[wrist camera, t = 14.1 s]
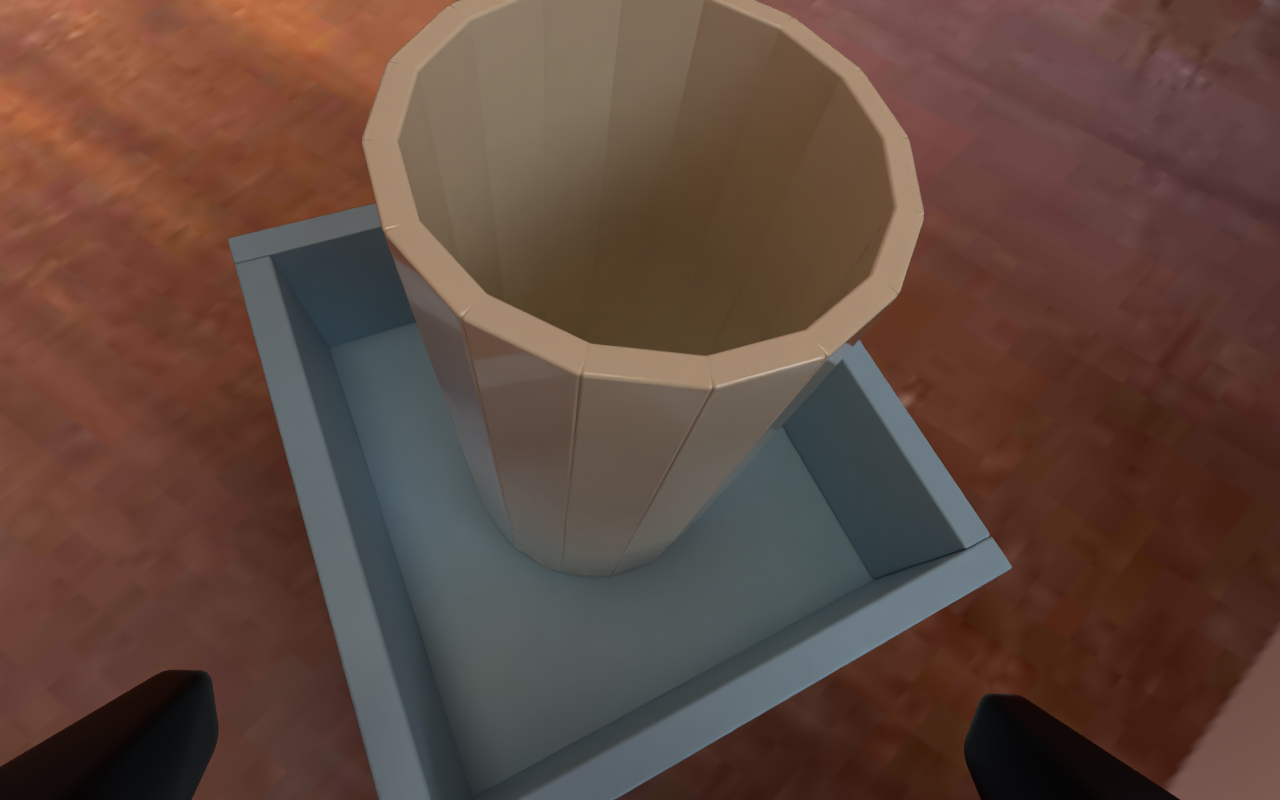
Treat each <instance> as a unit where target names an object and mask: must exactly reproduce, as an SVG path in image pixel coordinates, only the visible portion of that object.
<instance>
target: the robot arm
mask: <svg viewBox="0 0 1280 800" xmlns="http://www.w3.org/2000/svg"><path fill="white" fill-rule="evenodd" d="M217 739H218V720H217V713H216V706H215V699H214V692H213V685H212V681H211V677H210V676H209V675H208V673H206V672H204V671H199V670H167V671H163V672H161V673H159V674H157V675H155V676H153V677H151V678H150V679H148V680H146V681H145V682H143V683H141V684H139V685H138V686H136V687H134V688H133V689H131V690H129V691H128V692H126V693H124V694H123V695H121V696H119V697H117V698H116V699H114V700H112V701H111V702H109V703H107V704H106V705H104V706H102V707H101V708H99V709H97V710H96V711H94V712H92V713H90V714H89V715H87V716H85V717H84V718H82V719H80V720H79V721H77V722H75V723H74V724H72V725H70V726H68V727H67V728H65V729H63V730H62V731H60V732H58V733H57V734H55V735H53V736H52V737H50V738H48V739H46V740H45V741H43V742H41V743H40V744H38V745H36V746H35V747H33V748H31V749H30V750H28V751H26V752H24V753H23V754H21V755H19V756H18V757H16V758H14V759H13V760H11V761H9V762H8V763H6V764H4V765H3V766H1V767H0V800H191V799H192V797H193V795H194V793H195V791H196V789H197V787H198V784H199V782H200V780H201V778H202V776H203V774H204V772H205V769H206V767H207V765H208V763H209V761H210V759H211V757H212V754H213V752H214V749H215V746H216V743H217ZM964 753H965V759H966V763H967V766H968V769H969V771H970V774H971V776H972V779H973V781H974V784H975V786H976V789H977V791H978V793H979V796H980V798H981V800H1180V799H1178V798H1176V797H1175V796H1174V795H1172V794H1171V793H1169V792H1168V791H1166V790H1164V789H1163V788H1161V787H1160V786H1158V785H1157V784H1155V783H1154V782H1152V781H1151V780H1149V779H1148V778H1146V777H1145V776H1143V775H1142V774H1140V773H1138V772H1137V771H1135V770H1134V769H1132V768H1131V767H1129V766H1128V765H1126V764H1125V763H1123V762H1122V761H1120V760H1119V759H1117V758H1116V757H1114V756H1112V755H1111V754H1109V753H1108V752H1106V751H1105V750H1103V749H1102V748H1100V747H1099V746H1097V745H1096V744H1094V743H1093V742H1091V741H1090V740H1088V739H1087V738H1085V737H1083V736H1082V735H1080V734H1079V733H1077V732H1076V731H1074V730H1073V729H1071V728H1070V727H1068V726H1067V725H1065V724H1064V723H1062V722H1061V721H1059V720H1057V719H1056V718H1054V717H1053V716H1051V715H1050V714H1048V713H1047V712H1045V711H1044V710H1042V709H1041V708H1039V707H1038V706H1036V705H1035V704H1033V703H1031V702H1030V701H1028V700H1027V699H1025V698H1023V697H1021V696H1019V695H1014V694H987V695H985V696H984V697H983V698H982V699H981V700H980V702H979V705H978V707H977V710H976V713H975V715H974V718H973V721H972V724H971V726H970V729H969V732H968V734H967V737H966V740H965V745H964Z"/></svg>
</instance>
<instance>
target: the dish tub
mask: <svg viewBox="0 0 1280 800" xmlns="http://www.w3.org/2000/svg"><path fill="white" fill-rule="evenodd" d="M228 243H229V246H230V250H231V254H232V257H233V261H234V264H235V265H236V271H237V275H238V279H239V282H240V286H241V290H242V293H243V297H244V301H245V305H246V308H247V312H248V316H249V319H250V323H251V327H252V331H253V334H254V338H255V342H256V345H257V349H258V353H259V357H260V360H261V364H262V368H263V371H264V375H265V379H266V383H267V386H268V390H269V394H270V397H271V401H272V405H273V409H274V412H275V416H276V420H277V423H278V427H279V431H280V435H281V438H282V442H283V446H284V449H285V453H286V457H287V461H288V464H289V468H290V472H291V475H292V479H293V483H294V487H295V490H296V494H297V498H298V501H299V505H300V509H301V513H302V516H303V520H304V524H305V527H306V531H307V535H308V539H309V542H310V546H311V550H312V553H313V557H314V561H315V565H316V568H317V572H318V576H319V579H320V583H321V587H322V591H323V594H324V598H325V602H326V605H327V609H328V613H329V617H330V620H331V624H332V628H333V631H334V635H335V639H336V643H337V646H338V650H339V654H340V657H341V661H342V665H343V669H344V672H345V676H346V680H347V683H348V687H349V691H350V695H351V698H352V702H353V706H354V709H355V713H356V717H357V721H358V724H359V728H360V732H361V735H362V739H363V743H364V747H365V750H366V754H367V758H368V761H369V765H370V769H371V773H372V776H373V780H374V784H375V787H376V791H377V795H378V799H379V800H615V799H617V798H618V797H620V796H622V795H624V794H625V793H627V792H629V791H630V790H632V789H634V788H636V787H637V786H639V785H641V784H642V783H644V782H646V781H648V780H649V779H651V778H653V777H655V776H656V775H658V774H660V773H661V772H663V771H665V770H667V769H668V768H670V767H672V766H673V765H675V764H677V763H679V762H680V761H682V760H684V759H685V758H687V757H689V756H691V755H692V754H694V753H696V752H697V751H699V750H701V749H703V748H704V747H706V746H708V745H709V744H711V743H713V742H715V741H716V740H718V739H720V738H721V737H723V736H725V735H727V734H728V733H730V732H732V731H733V730H735V729H737V728H739V727H740V726H742V725H744V724H745V723H747V722H749V721H751V720H752V719H754V718H756V717H757V716H759V715H761V714H763V713H764V712H766V711H768V710H769V709H771V708H773V707H775V706H776V705H778V704H780V703H781V702H783V701H785V700H787V699H788V698H790V697H792V696H793V695H795V694H797V693H799V692H800V691H802V690H804V689H806V688H807V687H809V686H811V685H812V684H814V683H816V682H818V681H819V680H821V679H823V678H824V677H826V676H828V675H830V674H831V673H833V672H835V671H836V670H838V669H840V668H842V667H843V666H845V665H847V664H848V663H850V662H852V661H854V660H855V659H857V658H859V657H860V656H862V655H864V654H866V653H867V652H869V651H871V650H872V649H874V648H876V647H878V646H879V645H881V644H883V643H884V642H886V641H888V640H890V639H891V638H893V637H895V636H896V635H898V634H900V633H902V632H903V631H905V630H907V629H908V628H910V627H912V626H914V625H915V624H917V623H919V622H920V621H922V620H924V619H926V618H927V617H929V616H931V615H932V614H934V613H936V612H938V611H939V610H941V609H943V608H944V607H946V606H948V605H950V604H951V603H953V602H955V601H957V600H958V599H960V598H962V597H963V596H965V595H967V594H969V593H970V592H972V591H974V590H975V589H977V588H979V587H981V586H982V585H984V584H986V583H987V582H989V581H991V580H993V579H994V578H996V577H998V576H999V575H1001V574H1003V573H1005V572H1006V571H1008V570H1010V569H1011V564H1010V563H1009V561H1008V560H1007V558H1006V557H1005V555H1004V554H1003V552H1002V551H1001V549H1000V548H999V547H998V545H997V544H996V542H995V541H994V539H993V538H992V537H988V536H989V535H990V534H989V532H988V530H987V529H986V527H985V526H984V524H983V523H982V521H981V520H980V518H979V517H978V516H977V514H976V513H975V511H974V510H973V508H972V507H971V505H970V504H969V502H968V501H967V499H966V498H965V496H964V495H963V493H962V492H961V490H960V489H959V487H958V486H957V484H956V483H955V481H954V480H953V478H952V477H951V475H950V474H949V472H948V471H947V470H946V468H945V467H944V465H943V464H942V462H941V461H940V459H939V458H938V456H937V455H936V453H935V452H934V450H933V449H932V447H931V446H930V444H929V443H928V441H927V440H926V438H925V437H924V435H923V434H922V432H921V431H920V429H919V428H918V426H917V425H916V424H915V422H914V421H913V419H912V418H911V416H910V415H909V413H908V412H907V410H906V409H905V407H904V406H903V404H902V403H901V401H900V400H899V398H898V397H897V395H896V394H895V392H894V391H893V389H892V388H891V386H890V385H889V383H888V382H887V380H886V379H885V378H884V376H883V375H882V373H881V372H880V370H879V369H878V367H877V366H876V364H875V363H874V361H873V360H872V358H871V357H870V355H869V354H868V352H867V351H866V349H865V348H864V346H863V345H862V343H861V342H860V340H858V342H857V343H856V344H855V345H854V346H853V347H852V348H851V349H850V351H849V352H848V353H847V354H846V355H845V356H844V357H843V358H842V360H841V361H840V362H839V363H838V364H837V365H836V366H835V367H834V369H833V370H832V371H831V372H830V373H829V374H828V375H827V376H826V378H825V379H824V380H823V381H822V382H821V383H820V384H819V385H818V387H817V388H816V389H815V390H814V391H813V392H812V393H811V394H810V396H809V397H808V398H807V399H806V400H805V401H804V402H803V403H802V404H801V406H800V407H799V408H798V409H797V410H796V411H795V412H794V413H793V415H792V416H791V417H790V418H789V419H788V420H787V421H786V422H785V424H784V425H783V426H782V427H781V428H780V429H779V430H778V431H777V433H776V434H775V435H774V436H773V437H772V438H771V439H770V440H769V442H768V443H767V444H766V445H765V446H764V447H763V448H762V449H761V451H760V452H759V453H758V454H757V455H756V456H755V457H754V458H753V460H752V461H751V462H750V463H749V464H748V465H747V466H746V467H745V469H744V470H743V471H742V472H741V473H740V474H739V475H738V476H737V478H736V479H735V480H734V481H733V482H732V483H731V484H730V485H729V487H728V488H727V489H726V490H725V491H724V492H723V493H722V494H721V495H720V497H719V498H718V499H717V500H716V501H715V502H714V503H713V504H712V506H711V507H710V508H709V509H708V510H707V511H706V512H705V513H704V515H703V516H702V517H701V518H700V519H699V520H698V521H697V522H696V524H695V525H694V526H693V527H692V528H691V529H690V530H689V531H688V532H687V533H686V534H685V535H683V536H682V537H681V538H680V539H679V540H678V541H677V542H676V543H675V544H674V545H673V546H672V547H671V548H670V549H669V550H668V551H666V552H665V553H664V554H663V555H662V556H661V557H660V558H658V559H656V560H653V561H652V562H650V563H648V564H647V565H644V566H642V567H640V568H637V569H635V570H633V571H629V572H625V573H622V574H618V575H612V576H604V577H582V576H575V575H568V574H565V573H561V572H557V571H554V570H551V569H549V568H547V567H544V566H542V565H540V564H538V563H536V562H534V561H533V560H531V559H529V558H528V557H526V556H524V555H523V554H522V553H521V552H519V551H518V550H517V549H516V548H514V547H513V546H512V545H511V544H510V543H509V542H508V541H507V540H506V539H505V538H504V536H503V535H502V534H501V533H500V532H499V530H498V529H497V527H496V526H495V524H494V523H493V522H492V520H491V518H490V517H489V515H488V514H487V513H486V511H485V509H484V507H483V505H482V502H481V499H480V496H479V494H478V491H477V488H476V485H475V483H474V480H473V477H472V474H471V472H470V469H469V466H468V463H467V461H466V458H465V455H464V452H463V450H462V447H461V444H460V442H459V439H458V436H457V433H456V431H455V428H454V425H453V422H452V420H451V417H450V414H449V411H448V409H447V406H446V403H445V400H444V398H443V395H442V392H441V389H440V387H439V384H438V381H437V378H436V376H435V373H434V370H433V368H432V365H431V362H430V359H429V357H428V354H427V351H426V348H425V346H424V343H423V340H422V337H421V335H420V332H419V329H418V326H417V324H416V321H415V318H414V315H413V313H412V310H411V307H410V304H409V302H408V299H407V296H406V294H405V291H404V288H403V285H402V283H401V280H400V277H399V274H398V272H397V269H396V266H395V263H394V261H393V258H392V255H391V252H390V250H389V247H388V244H387V241H386V239H385V236H384V233H383V231H382V227H381V222H380V218H379V214H378V210H377V206H376V203H374V204H370V205H366V206H361V207H357V208H353V209H349V210H345V211H341V212H336V213H332V214H328V215H324V216H320V217H316V218H311V219H307V220H303V221H299V222H295V223H291V224H286V225H282V226H278V227H274V228H270V229H266V230H261V231H257V232H253V233H249V234H245V235H241V236H236V237H232V238H229V239H228Z"/></svg>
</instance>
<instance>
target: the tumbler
mask: <svg viewBox="0 0 1280 800" xmlns="http://www.w3.org/2000/svg"><path fill="white" fill-rule="evenodd" d="M860 70H861V69H860V68H859V67H858V66H857V65H855V64H854V63H853V62H852V61H850V60H849V59H848V58H846V57H845V56H844V55H842V54H841V53H840V52H839V51H837V50H836V49H835V48H833V47H832V46H831V45H829V44H828V43H827V42H826V41H824V40H823V39H822V38H820V37H819V36H818V35H816V34H815V33H814V32H813V31H811V30H810V29H809V28H807V27H806V26H805V25H803V24H802V23H801V22H800V21H798V20H797V19H796V18H792V17H791V16H790V15H788V14H786V13H784V12H781V11H779V10H777V9H774V8H772V7H770V6H767V5H765V4H763V3H760V2H758V1H756V0H458V1H456V2H453V3H451V4H450V6H446V7H445V8H444V9H443V10H442V11H441V12H440V13H439V14H437V15H436V16H435V17H434V18H433V19H432V20H431V21H430V22H429V23H428V24H427V25H426V26H425V27H423V28H422V29H421V30H420V31H419V32H418V33H417V34H416V35H415V36H414V37H413V38H412V39H410V40H409V41H408V42H407V43H406V44H405V45H404V46H403V47H402V48H401V49H400V50H399V51H398V52H396V53H395V54H394V55H393V56H392V57H391V58H390V60H389V62H388V63H387V64H386V67H385V70H384V73H383V76H382V79H381V82H380V85H379V88H378V91H377V94H376V97H375V100H374V103H373V106H372V109H371V112H370V115H369V118H368V121H367V124H366V127H365V130H364V133H363V136H362V149H363V153H364V157H365V161H366V165H367V169H368V173H369V177H370V181H371V186H372V190H373V194H374V198H375V202H376V206H377V210H378V214H379V218H380V222H381V227H382V231H383V233H384V236H385V239H386V241H387V244H388V247H389V250H390V252H391V255H392V258H393V261H394V263H395V266H396V269H397V272H398V274H399V277H400V280H401V283H402V285H403V288H404V291H405V294H406V296H407V299H408V302H409V304H410V307H411V310H412V313H413V315H414V318H415V321H416V324H417V326H418V329H419V332H420V335H421V337H422V340H423V343H424V346H425V348H426V351H427V354H428V357H429V359H430V362H431V365H432V368H433V370H434V373H435V376H436V378H437V381H438V384H439V387H440V389H441V392H442V395H443V398H444V400H445V403H446V406H447V409H448V411H449V414H450V417H451V420H452V422H453V425H454V428H455V431H456V433H457V436H458V439H459V442H460V444H461V447H462V450H463V452H464V455H465V458H466V461H467V463H468V466H469V469H470V472H471V474H472V477H473V480H474V483H475V485H476V488H477V491H478V494H479V496H480V499H481V502H482V505H483V507H484V509H485V511H486V513H487V514H488V515H489V517H490V518H491V520H492V522H493V523H494V524H495V526H496V527H497V529H498V530H499V532H500V533H501V534H502V535H503V536H504V538H505V539H506V540H507V541H508V542H509V543H510V544H511V545H512V546H513V547H514V548H516V549H517V550H518V551H519V552H521V553H522V554H523V555H524V556H526V557H528V558H529V559H531V560H533V561H534V562H536V563H538V564H540V565H542V566H544V567H547V568H549V569H551V570H554V571H557V572H561V573H565V574H568V575H575V576H582V577H604V576H612V575H618V574H622V573H625V572H629V571H633V570H635V569H637V568H640V567H642V566H644V565H647V564H648V563H650V562H652V561H653V560H656V559H658V558H660V557H661V556H662V555H663V554H664V553H665V552H666V551H668V550H669V549H670V548H671V547H672V546H673V545H674V544H675V543H676V542H677V541H678V540H679V539H680V538H681V537H682V536H683V535H685V534H686V533H687V532H688V531H689V530H690V529H691V528H692V527H693V526H694V525H695V524H696V522H697V521H698V520H699V519H700V518H701V517H702V516H703V515H704V513H705V512H706V511H707V510H708V509H709V508H710V507H711V506H712V504H713V503H714V502H715V501H716V500H717V499H718V498H719V497H720V495H721V494H722V493H723V492H724V491H725V490H726V489H727V488H728V487H729V485H730V484H731V483H732V482H733V481H734V480H735V479H736V478H737V476H738V475H739V474H740V473H741V472H742V471H743V470H744V469H745V467H746V466H747V465H748V464H749V463H750V462H751V461H752V460H753V458H754V457H755V456H756V455H757V454H758V453H759V452H760V451H761V449H762V448H763V447H764V446H765V445H766V444H767V443H768V442H769V440H770V439H771V438H772V437H773V436H774V435H775V434H776V433H777V431H778V430H779V429H780V428H781V427H782V426H783V425H784V424H785V422H786V421H787V420H788V419H789V418H790V417H791V416H792V415H793V413H794V412H795V411H796V410H797V409H798V408H799V407H800V406H801V404H802V403H803V402H804V401H805V400H806V399H807V398H808V397H809V396H810V394H811V393H812V392H813V391H814V390H815V389H816V388H817V387H818V385H819V384H820V383H821V382H822V381H823V380H824V379H825V378H826V376H827V375H828V374H829V373H830V372H831V371H832V370H833V369H834V367H835V366H836V365H837V364H838V363H839V362H840V361H841V360H842V358H843V357H844V356H845V355H846V354H847V353H848V352H849V351H850V349H851V348H852V347H853V346H854V345H855V344H856V343H857V342H858V340H859V339H860V338H861V337H862V336H863V335H864V334H865V333H866V331H867V330H868V329H869V328H870V327H871V326H872V325H873V324H874V322H875V321H876V320H877V319H878V318H879V317H880V316H881V315H882V313H883V312H884V311H885V310H886V309H887V308H888V307H889V306H890V305H891V303H892V302H893V301H894V300H895V299H896V298H897V295H898V294H899V293H900V291H901V288H902V285H903V282H904V279H905V276H906V273H907V269H908V266H909V263H910V260H911V257H912V254H913V251H914V248H915V245H916V242H917V239H918V236H919V233H920V230H921V226H922V223H923V220H924V216H923V215H924V209H923V204H922V199H921V194H920V189H919V184H918V179H917V174H916V169H915V164H914V159H913V154H912V149H911V144H910V140H909V139H908V136H907V134H906V132H905V131H904V129H903V128H902V127H901V125H900V124H899V122H898V121H897V119H896V118H895V116H894V115H893V114H892V112H891V111H890V109H889V108H888V106H887V105H886V103H885V102H884V101H883V99H882V98H881V96H880V95H879V93H878V92H877V90H876V89H875V88H874V86H873V85H872V83H871V82H870V80H869V79H868V77H867V76H866V75H865V73H864V72H863V71H860Z"/></svg>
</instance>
